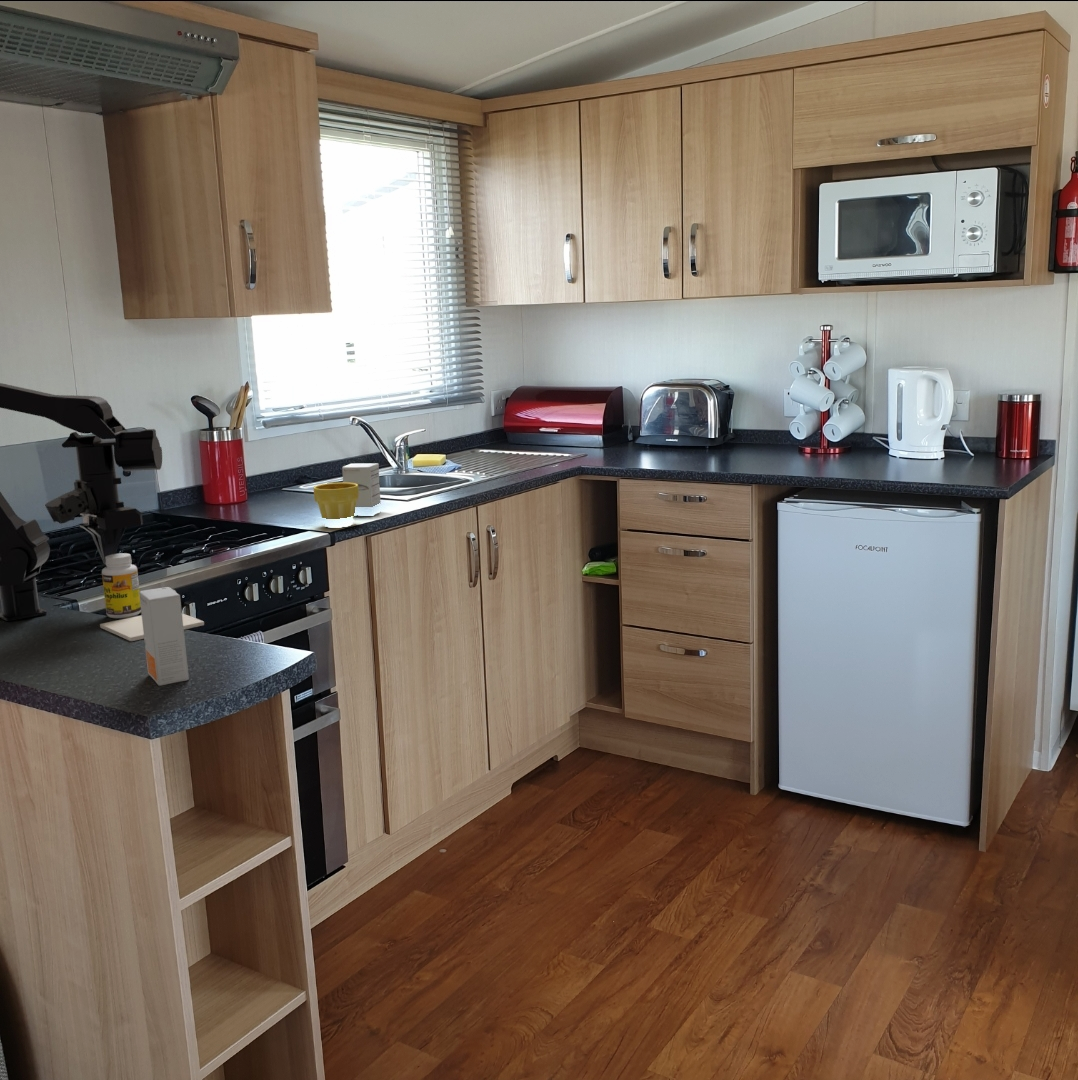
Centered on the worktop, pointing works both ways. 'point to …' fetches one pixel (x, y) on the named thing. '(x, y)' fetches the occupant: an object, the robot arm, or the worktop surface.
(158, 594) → the skincare box
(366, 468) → the supplement box
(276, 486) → the worktop surface
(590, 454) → the worktop surface
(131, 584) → the supplement bottle
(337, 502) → the plant pot
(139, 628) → the mat
